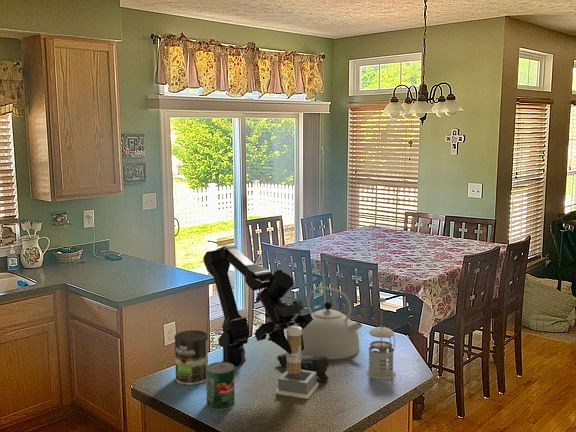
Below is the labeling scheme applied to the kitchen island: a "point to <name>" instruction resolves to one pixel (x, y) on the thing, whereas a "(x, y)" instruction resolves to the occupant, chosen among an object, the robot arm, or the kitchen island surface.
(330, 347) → the kettle
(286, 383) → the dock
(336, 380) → the kitchen island surface
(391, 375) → the french press
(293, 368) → the sprinkles bottle
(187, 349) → the coffee can
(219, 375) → the canned tomato
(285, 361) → the gun
